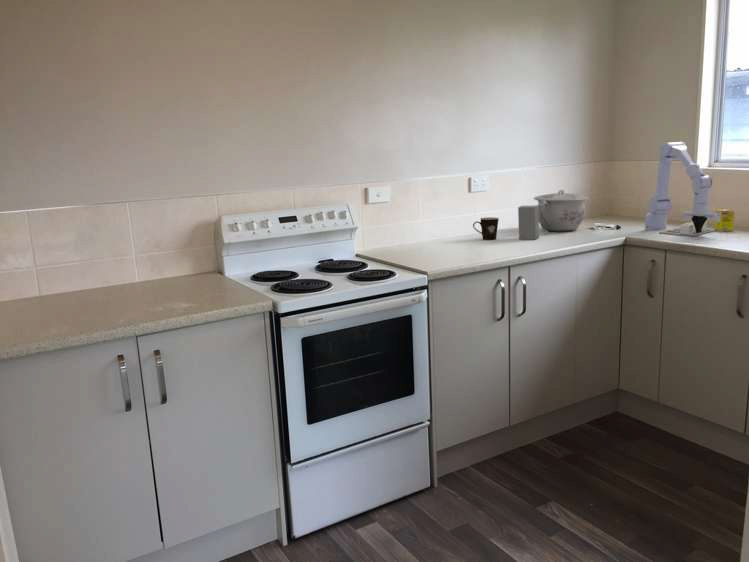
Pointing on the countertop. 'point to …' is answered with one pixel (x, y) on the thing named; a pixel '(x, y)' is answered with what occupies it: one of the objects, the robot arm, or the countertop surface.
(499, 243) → the countertop surface
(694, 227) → the beige block
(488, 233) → the coffee mug
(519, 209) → the skincare box
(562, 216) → the chamber pot
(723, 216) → the supplement box
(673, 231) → the switch board
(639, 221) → the countertop surface
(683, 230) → the tab
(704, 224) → the tab
